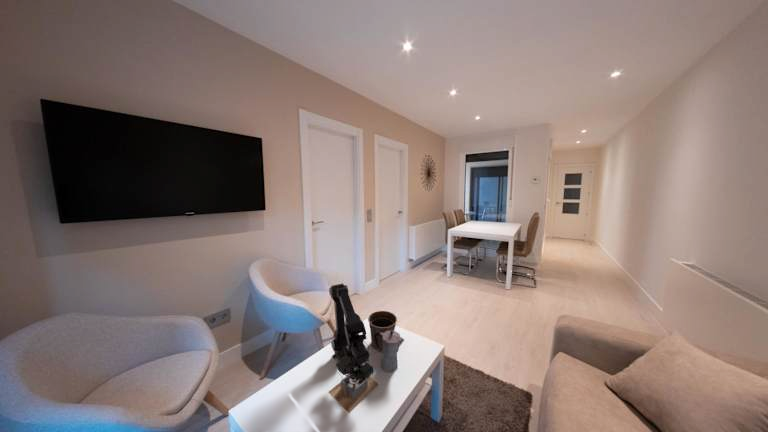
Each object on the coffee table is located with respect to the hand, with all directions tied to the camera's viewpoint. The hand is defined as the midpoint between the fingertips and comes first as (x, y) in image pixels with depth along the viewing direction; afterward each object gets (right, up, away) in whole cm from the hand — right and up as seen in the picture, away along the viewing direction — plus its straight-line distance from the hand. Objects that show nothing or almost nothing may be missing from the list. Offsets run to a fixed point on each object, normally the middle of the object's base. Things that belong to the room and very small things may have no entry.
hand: (354, 378), depth 103 cm
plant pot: (+12, -1, +30) cm, 32 cm away
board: (0, -6, +1) cm, 6 cm away
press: (0, -5, +1) cm, 5 cm away
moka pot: (+15, -4, +14) cm, 21 cm away
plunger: (0, -4, +1) cm, 4 cm away
